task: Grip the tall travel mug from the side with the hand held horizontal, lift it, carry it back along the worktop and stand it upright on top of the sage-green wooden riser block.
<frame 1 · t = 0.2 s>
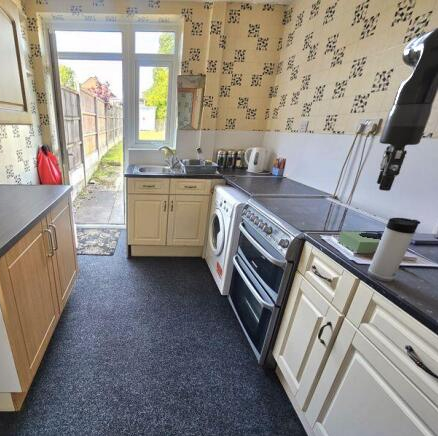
hand: (382, 187, 68), 30 cm above the countertop, tool pointing down, fingers open, 8 cm apart
riser block: (358, 247, 98), on the countertop
travel mug: (380, 277, 80), on the countertop
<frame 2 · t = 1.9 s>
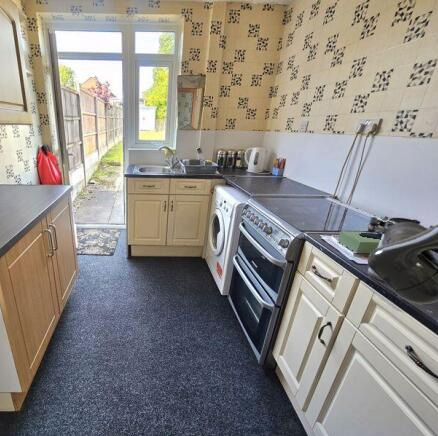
hand: (406, 224, 64), 21 cm above the countertop, tool horizontal, fingers open, 8 cm apart
nothing on the countertop moved.
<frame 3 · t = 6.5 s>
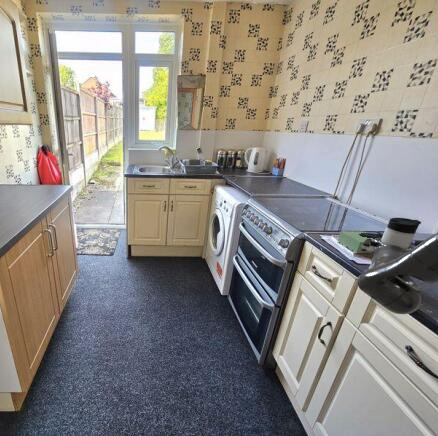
hand: (393, 243, 77), 11 cm above the countertop, tool horizontal, fingers closed on travel mug, 6 cm apart
travel mug: (380, 276, 80), on the countertop, touching gripper
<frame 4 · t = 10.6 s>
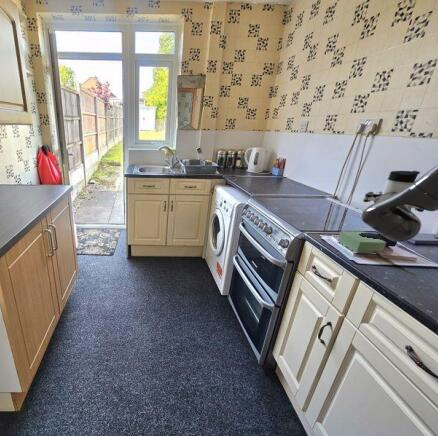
hand: (393, 196, 82), 24 cm above the countertop, tool horizontal, fingers closed on travel mug, 6 cm apart
travel mug: (381, 229, 84), point 13 cm above the countertop, touching gripper
when the fingers open (16 cm above the countertop, at t = 14.9 s): travel mug stays where it is, resting on riser block.
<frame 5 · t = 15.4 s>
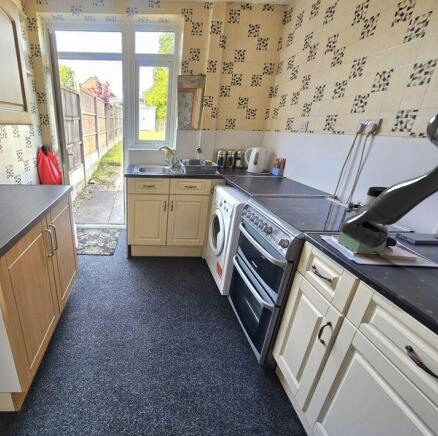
hand: (373, 207, 93), 17 cm above the countertop, tool horizontal, fingers open, 8 cm apart
travel mug: (362, 237, 96), point 5 cm above the countertop, touching riser block
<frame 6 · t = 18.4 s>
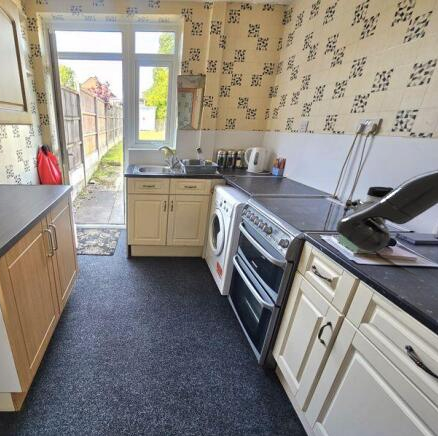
hand: (374, 204, 84), 20 cm above the countertop, tool horizontal, fingers open, 8 cm apart
nothing on the countertop moved.
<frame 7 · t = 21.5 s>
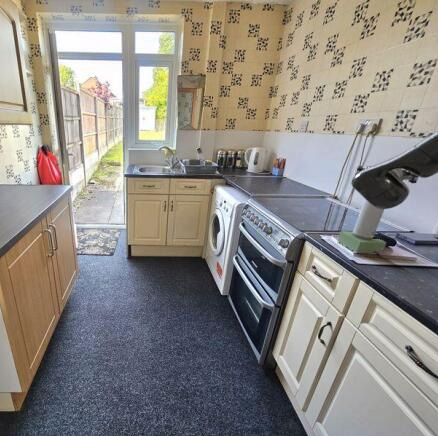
hand: (386, 171, 79), 32 cm above the countertop, tool horizontal, fingers open, 8 cm apart
nothing on the countertop moved.
at the end: travel mug 0.2 cm off-centre on the riser block, point 4.8 cm above the riser block's base; travel mug tilted 0°; the gripper is holding nothing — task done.
